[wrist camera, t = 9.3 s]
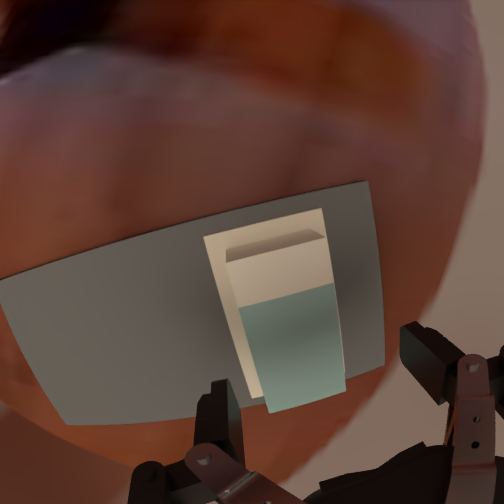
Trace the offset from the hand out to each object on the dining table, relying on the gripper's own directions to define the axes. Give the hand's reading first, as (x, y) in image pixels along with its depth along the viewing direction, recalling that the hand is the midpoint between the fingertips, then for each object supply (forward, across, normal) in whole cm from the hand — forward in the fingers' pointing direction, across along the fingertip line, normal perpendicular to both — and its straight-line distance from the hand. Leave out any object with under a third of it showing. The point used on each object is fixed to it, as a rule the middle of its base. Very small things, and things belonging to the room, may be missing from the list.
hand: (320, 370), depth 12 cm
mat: (+7, +8, 0) cm, 10 cm away
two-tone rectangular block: (+6, 0, 0) cm, 6 cm away
